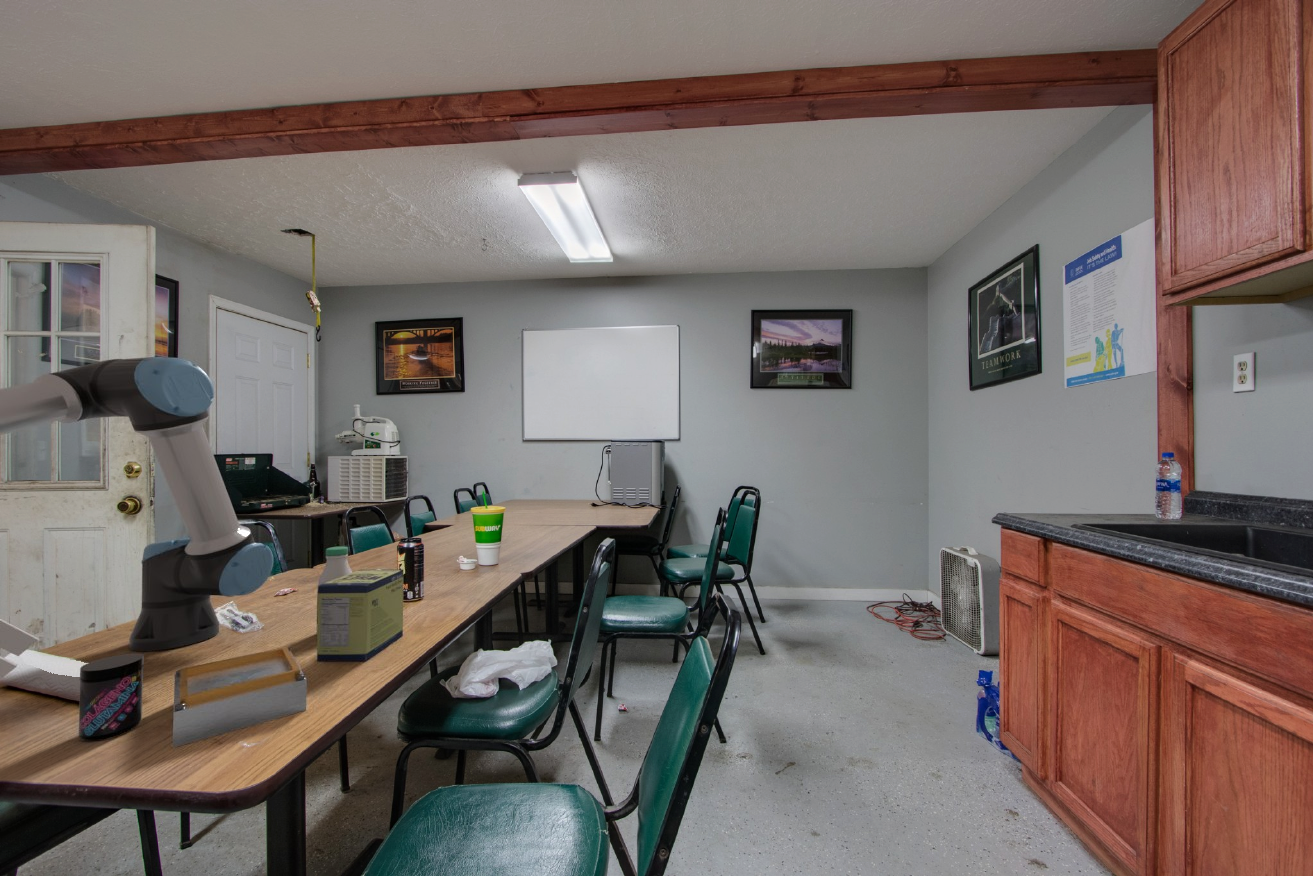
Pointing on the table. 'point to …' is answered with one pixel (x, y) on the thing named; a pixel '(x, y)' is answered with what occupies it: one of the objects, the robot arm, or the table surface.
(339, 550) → the milk bottle
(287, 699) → the wood-rimmed grey tray
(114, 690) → the supplement container
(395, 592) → the protein box
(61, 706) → the table surface
